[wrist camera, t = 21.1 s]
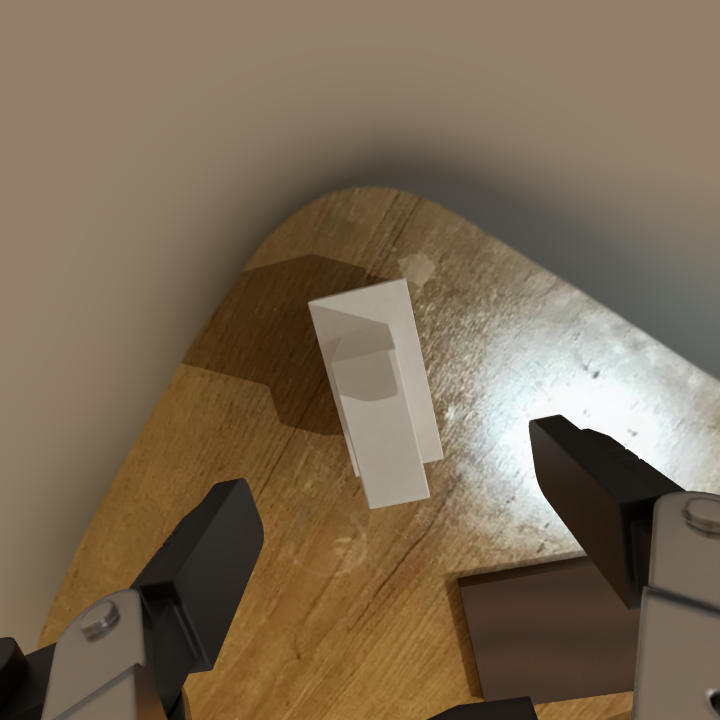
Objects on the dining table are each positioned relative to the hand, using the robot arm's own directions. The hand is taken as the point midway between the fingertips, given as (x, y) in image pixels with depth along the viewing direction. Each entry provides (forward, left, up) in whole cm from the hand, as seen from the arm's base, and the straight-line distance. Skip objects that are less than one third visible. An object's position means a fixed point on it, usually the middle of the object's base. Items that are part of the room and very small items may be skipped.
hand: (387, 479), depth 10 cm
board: (+23, +10, -13) cm, 28 cm away
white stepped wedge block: (0, 0, -13) cm, 13 cm away
